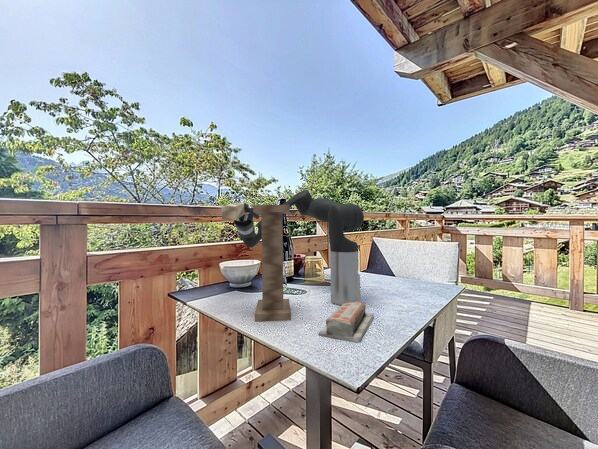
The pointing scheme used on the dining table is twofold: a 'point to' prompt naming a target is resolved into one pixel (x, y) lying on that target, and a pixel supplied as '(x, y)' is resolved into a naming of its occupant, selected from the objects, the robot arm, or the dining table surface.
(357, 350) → the dining table surface
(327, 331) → the red and grey block
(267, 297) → the stand
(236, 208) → the beige wooden bar
